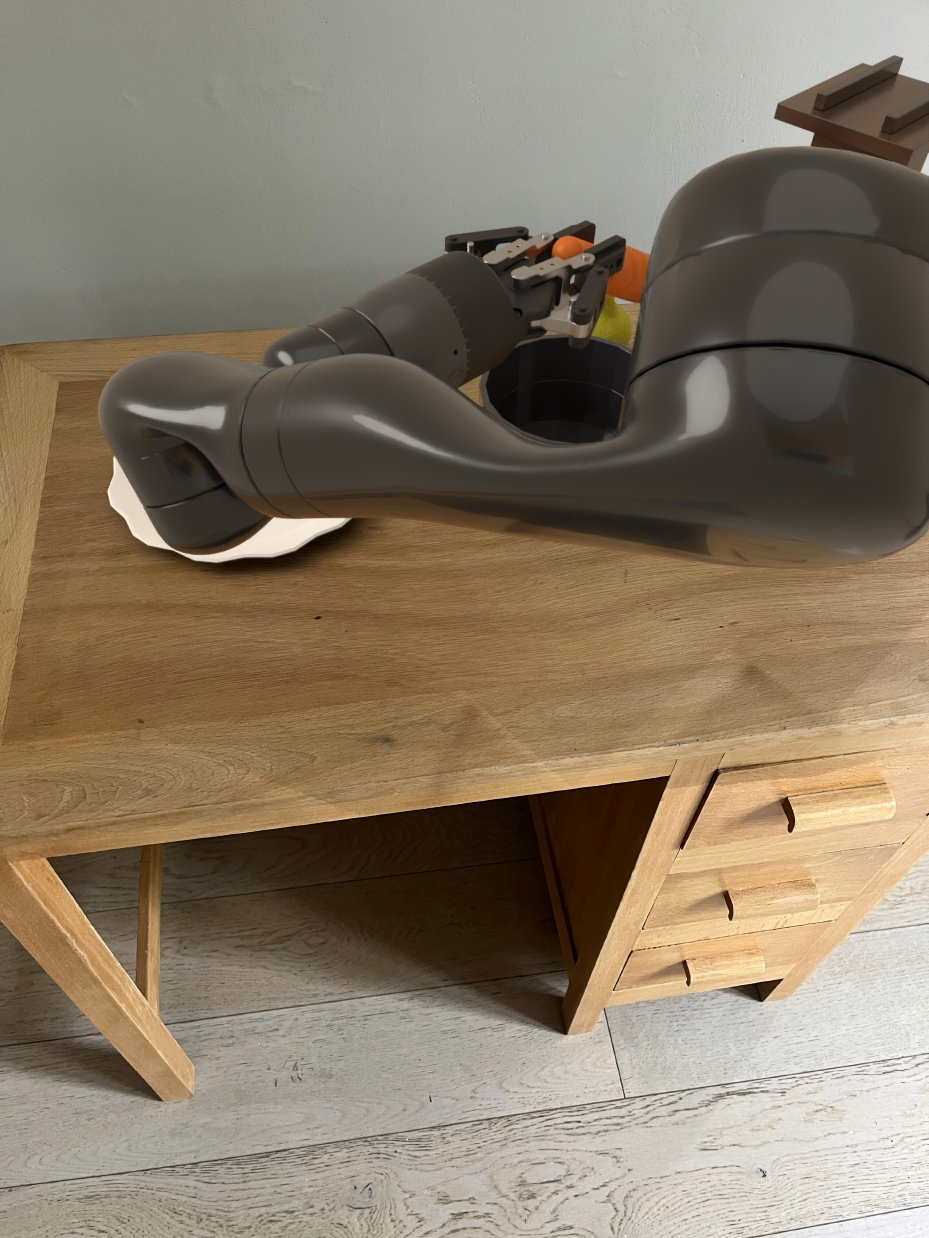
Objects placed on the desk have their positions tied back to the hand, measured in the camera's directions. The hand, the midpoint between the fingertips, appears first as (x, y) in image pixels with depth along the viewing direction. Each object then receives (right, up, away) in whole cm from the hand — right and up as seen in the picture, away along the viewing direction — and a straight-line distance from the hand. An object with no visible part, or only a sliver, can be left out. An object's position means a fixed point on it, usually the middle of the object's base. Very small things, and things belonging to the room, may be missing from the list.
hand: (604, 242), depth 60 cm
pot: (-1, -13, +22) cm, 25 cm away
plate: (-30, -13, +21) cm, 39 cm away
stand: (+19, -12, +23) cm, 32 cm away
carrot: (+1, -2, +4) cm, 5 cm away
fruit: (+4, +1, +33) cm, 34 cm away
